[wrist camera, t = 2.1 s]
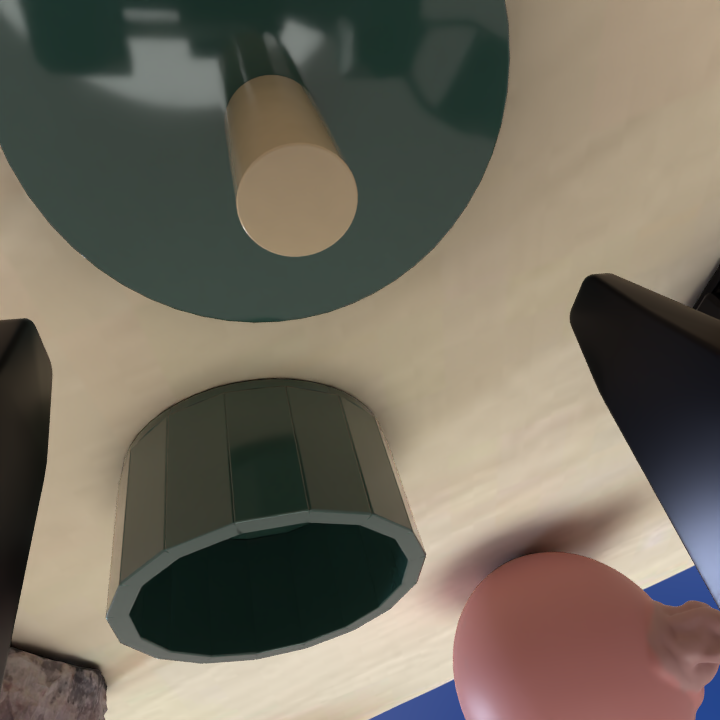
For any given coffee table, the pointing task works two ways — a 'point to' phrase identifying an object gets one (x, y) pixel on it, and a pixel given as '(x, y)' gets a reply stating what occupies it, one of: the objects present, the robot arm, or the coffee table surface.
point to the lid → (252, 139)
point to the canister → (258, 525)
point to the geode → (50, 690)
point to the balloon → (579, 646)
